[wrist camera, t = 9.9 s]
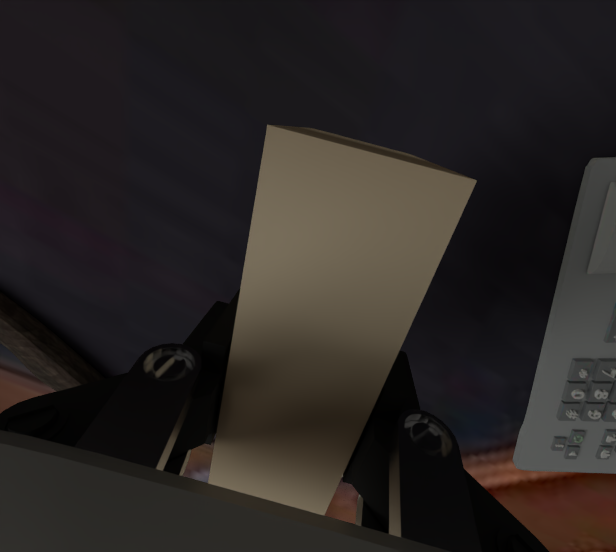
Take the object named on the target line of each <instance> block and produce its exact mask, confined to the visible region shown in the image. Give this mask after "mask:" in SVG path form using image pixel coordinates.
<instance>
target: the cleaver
mask: <svg viewBox="0 0 616 552" xmlns="http://www.w3.org/2000/svg"><path fill="white" fill-rule="evenodd" d="M0 343H1V344H3V345H4V346H5V347H6V348H8V349H9V350H10V351H11V352H12V353H13V354H14V355H15V356H16V357H17V358H18V359H19V360H20V361H21V362H22V363H23V364H24V365H25V366H26V367H27V368H28V369H29V370H30V371H31V372H32V373H33V374H34V375H35V376H36V377H37V378H38V379H39V380H41V381H42V382H44V383H45V384H46V385H48V386H49V387H51V388H52V389H54V390H55V391H61V390H64V389H68V388H72V387H76V386H80V385H83V384H87V383H91V382H95V381H99V380H102V379H105V378H104V377H103V376H102V375H101V374H100V373H99V372H98V371H97V370H96V369H94V368H93V367H92V366H91V365H90V364H89V363H88V362H86V361H85V360H84V359H83V358H82V357H81V356H80V355H78V354H77V353H76V352H75V351H74V350H73V349H72V348H70V347H69V346H68V345H67V344H66V343H65V342H64V341H62V340H61V339H60V338H59V337H58V336H57V335H55V334H54V333H53V332H52V331H51V330H49V329H48V328H47V327H46V326H44V325H43V324H42V323H41V322H40V321H38V320H37V319H36V318H34V317H33V316H32V315H31V314H29V313H28V312H27V311H25V310H24V309H23V308H21V307H20V306H19V305H17V304H16V303H15V302H13V301H12V300H11V299H9V298H8V297H7V296H5V295H4V294H3V293H1V292H0Z"/></svg>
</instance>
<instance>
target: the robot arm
mask: <svg viewBox="0 0 616 552" xmlns="http://www.w3.org/2000/svg"><path fill="white" fill-rule="evenodd" d="M239 294H240V289H239V291H238V292H237V293H236V295H235V296H234V298H233V299H232V300H231V302H230V303H229V304H228V303H224V302H220V301H217V302H216V303H215V304H214V305H213V306H212V308H211V309H210V310H209V311H208V313H207V314H206V315H205V316H204V318H203V319H202V320H201V322H200V323H199V324H198V325H197V327H196V328H195V329H194V330H193V332H192V333H191V334H190V336H189V337H188V338H187V339H186V341H185V342H184V343H183V344H175V343H170V344H161V345H158V346H155V347H152V348H150V349H149V350H147V351H145V352H144V353H143V354H142V355H141V356H140V357H139V358H138V360H137V361H136V362H135V364H134V365H133V367H132V368H131V369H130V371H129V372H128V373H125V374H121V375H118V376H114V377H110V378H106V379H102V380H99V381H95V382H91V383H87V384H83V385H80V386H76V387H72V388H68V389H64V390H61V391H57V392H53V393H49V394H45V395H42V396H38V397H34V398H31V399H28V400H25V401H22V402H19V403H17V404H15V405H13V406H11V407H10V408H8V409H6V410H4V411H3V412H2V413H1V414H0V552H549V551H548V550H547V549H546V548H545V546H544V545H543V544H542V543H541V542H540V541H539V540H538V539H537V538H536V537H535V536H534V535H533V534H532V533H531V532H530V531H529V530H528V529H527V528H526V527H525V526H524V525H522V524H521V523H520V522H519V521H518V520H517V519H516V518H515V517H514V516H513V515H512V514H511V513H510V512H509V511H508V510H507V509H506V508H505V507H504V506H502V505H501V504H500V503H499V502H498V501H497V500H496V499H495V498H494V497H493V496H492V495H491V494H490V493H489V492H488V491H487V490H486V489H485V488H483V487H482V486H481V485H480V484H479V483H478V482H477V481H476V480H475V479H474V478H473V477H472V476H471V475H470V474H469V473H468V472H467V471H466V470H465V469H464V468H463V463H462V459H461V454H460V450H459V445H458V443H457V440H456V438H455V436H454V434H453V433H452V431H451V430H450V429H449V428H448V427H447V426H446V425H445V424H444V423H443V422H442V421H441V420H440V419H438V418H437V417H436V416H434V415H432V414H430V413H428V412H426V411H423V410H420V406H419V402H418V398H417V394H416V390H415V386H414V382H413V378H412V374H411V370H410V366H409V362H408V358H407V355H406V353H405V352H403V351H400V350H399V352H398V355H397V357H396V359H395V361H394V363H393V366H392V368H391V370H390V372H389V374H388V377H387V379H386V381H385V383H384V385H383V387H382V390H381V392H380V394H379V396H378V398H377V401H376V403H375V405H374V407H373V409H372V412H371V414H370V416H369V418H368V420H367V423H366V425H365V427H364V429H363V431H362V433H361V436H360V438H359V440H358V442H357V444H356V447H355V449H354V451H353V453H352V455H351V458H350V460H349V462H348V464H347V466H346V468H345V471H344V473H343V482H346V483H349V484H352V485H353V486H354V488H355V489H356V490H357V492H358V493H359V497H358V501H357V512H356V523H355V524H352V523H348V522H345V521H341V520H338V519H334V518H331V517H327V516H324V515H320V514H316V513H313V512H309V511H306V510H302V509H299V508H295V507H291V506H288V505H284V504H281V503H277V502H274V501H270V500H266V499H263V498H259V497H256V496H252V495H248V494H245V493H241V492H238V491H234V490H230V489H227V488H223V487H220V486H216V485H212V484H209V483H205V482H201V481H198V480H194V479H190V478H187V477H183V474H184V471H185V468H186V465H187V463H188V460H189V457H190V454H191V449H194V448H196V447H198V446H200V445H202V444H209V445H211V443H212V441H213V438H214V436H215V434H216V433H217V427H218V421H219V415H220V409H221V403H222V397H223V391H224V385H225V379H226V373H227V367H228V361H229V355H230V349H231V342H232V336H233V330H234V324H235V318H236V312H237V306H238V300H239Z"/></svg>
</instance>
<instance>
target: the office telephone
mask: <svg viewBox="0 0 616 552" xmlns="http://www.w3.org/2000/svg"><path fill="white" fill-rule="evenodd" d="M513 462H514V464H515V466H516V468H518V469H521V470H530V471H556V472H587V473H616V157H605V158H592V159H591V160H590V162H589V163H588V165H587V166H586V167H585V171H584V175H583V179H582V183H581V187H580V191H579V195H578V199H577V203H576V207H575V211H574V215H573V219H572V223H571V227H570V232H569V236H568V240H567V244H566V249H565V253H564V257H563V261H562V265H561V270H560V274H559V278H558V282H557V287H556V291H555V295H554V299H553V303H552V308H551V312H550V316H549V320H548V324H547V329H546V333H545V337H544V341H543V345H542V350H541V354H540V358H539V362H538V366H537V371H536V375H535V379H534V383H533V387H532V392H531V396H530V400H529V404H528V408H527V412H526V416H525V420H524V422H523V425H522V427H521V429H520V432H519V436H518V440H517V444H516V448H515V452H514V456H513Z"/></svg>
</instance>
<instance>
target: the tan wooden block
mask: <svg viewBox="0 0 616 552" xmlns="http://www.w3.org/2000/svg"><path fill="white" fill-rule="evenodd" d="M476 182H477V180H474V179H472V178H469V177H467V176H464V175H462V174H459V173H457V172H454V171H451V170H449V169H446V168H444V167H441V166H439V165H436V164H434V163H431V162H428V161H426V160H423V159H421V158H418V157H416V156H413V155H411V154H407V153H404V152H400V151H396V150H392V149H388V148H385V147H381V146H377V145H373V144H370V143H366V142H362V141H358V140H355V139H351V138H347V137H343V136H340V135H336V134H332V133H328V132H325V131H321V130H317V129H313V128H303V127H290V126H277V125H267V131H266V137H265V143H264V149H263V155H262V161H261V167H260V173H259V180H258V186H257V192H256V198H255V204H254V210H253V216H252V222H251V228H250V234H249V240H248V246H247V252H246V258H245V264H244V270H243V276H242V282H241V288H240V294H239V300H238V306H237V312H236V318H235V324H234V330H233V336H232V342H231V349H230V355H229V361H228V367H227V373H226V379H225V385H224V391H223V397H222V403H221V409H220V415H219V421H218V427H217V433H216V439H215V445H214V451H213V457H212V463H211V469H210V475H209V481H208V483H209V484H212V485H216V486H220V487H223V488H227V489H230V490H234V491H238V492H241V493H245V494H248V495H252V496H256V497H259V498H263V499H266V500H270V501H274V502H277V503H281V504H284V505H288V506H291V507H295V508H299V509H302V510H306V511H309V512H313V513H316V514H320V515H324V514H325V512H326V510H327V508H328V506H329V504H330V501H331V499H332V497H333V495H334V493H335V490H336V488H337V486H338V484H339V482H340V479H341V477H342V475H343V473H344V471H345V468H346V466H347V464H348V462H349V460H350V458H351V455H352V453H353V451H354V449H355V447H356V444H357V442H358V440H359V438H360V436H361V433H362V431H363V429H364V427H365V425H366V423H367V420H368V418H369V416H370V414H371V412H372V409H373V407H374V405H375V403H376V401H377V398H378V396H379V394H380V392H381V390H382V387H383V385H384V383H385V381H386V379H387V377H388V374H389V372H390V370H391V368H392V366H393V363H394V361H395V359H396V357H397V355H398V352H399V350H400V348H401V346H402V344H403V341H404V339H405V337H406V335H407V333H408V331H409V328H410V326H411V324H412V322H413V320H414V317H415V315H416V313H417V311H418V309H419V306H420V304H421V302H422V300H423V298H424V296H425V293H426V291H427V289H428V287H429V285H430V282H431V280H432V278H433V276H434V274H435V271H436V269H437V267H438V265H439V263H440V260H441V258H442V256H443V254H444V252H445V250H446V247H447V245H448V243H449V241H450V239H451V236H452V234H453V232H454V230H455V228H456V225H457V223H458V221H459V219H460V217H461V215H462V212H463V210H464V208H465V206H466V204H467V201H468V199H469V197H470V195H471V193H472V190H473V188H474V186H475V184H476Z"/></svg>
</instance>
